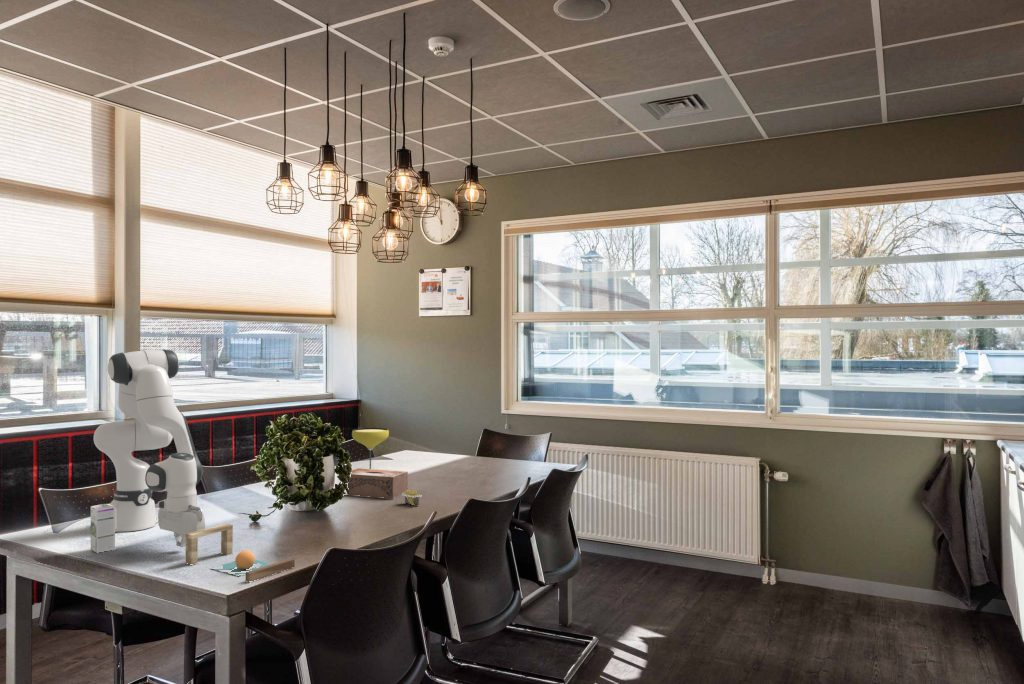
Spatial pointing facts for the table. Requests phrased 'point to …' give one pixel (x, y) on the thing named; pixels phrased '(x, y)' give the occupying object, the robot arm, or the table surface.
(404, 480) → the tissue box cover
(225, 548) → the bridge
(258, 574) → the stopper wall
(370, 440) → the cocktail glass
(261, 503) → the table surface
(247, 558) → the ball
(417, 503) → the plastic food container
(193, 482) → the robot arm
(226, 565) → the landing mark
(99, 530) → the syrup box
